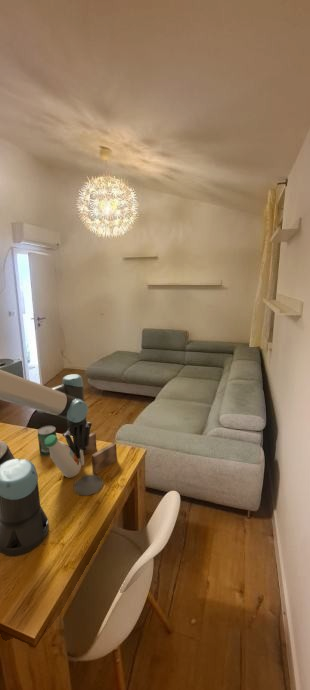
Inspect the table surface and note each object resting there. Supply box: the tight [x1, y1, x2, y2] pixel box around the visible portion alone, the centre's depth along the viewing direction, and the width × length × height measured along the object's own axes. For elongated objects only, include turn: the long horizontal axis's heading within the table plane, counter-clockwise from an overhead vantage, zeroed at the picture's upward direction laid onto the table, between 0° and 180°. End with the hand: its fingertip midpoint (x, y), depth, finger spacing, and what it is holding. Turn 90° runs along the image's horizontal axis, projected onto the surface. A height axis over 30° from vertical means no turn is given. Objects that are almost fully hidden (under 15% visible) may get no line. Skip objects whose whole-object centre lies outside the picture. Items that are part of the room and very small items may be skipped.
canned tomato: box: [37, 425, 57, 457], centre depth 136 cm, size 8×8×11 cm
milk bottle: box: [45, 435, 82, 478], centre depth 116 cm, size 8×8×20 cm
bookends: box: [74, 432, 118, 475], centre depth 130 cm, size 12×16×8 cm
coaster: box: [73, 474, 104, 497], centre depth 115 cm, size 11×11×1 cm
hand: (81, 463), depth 125 cm, fingers closed
